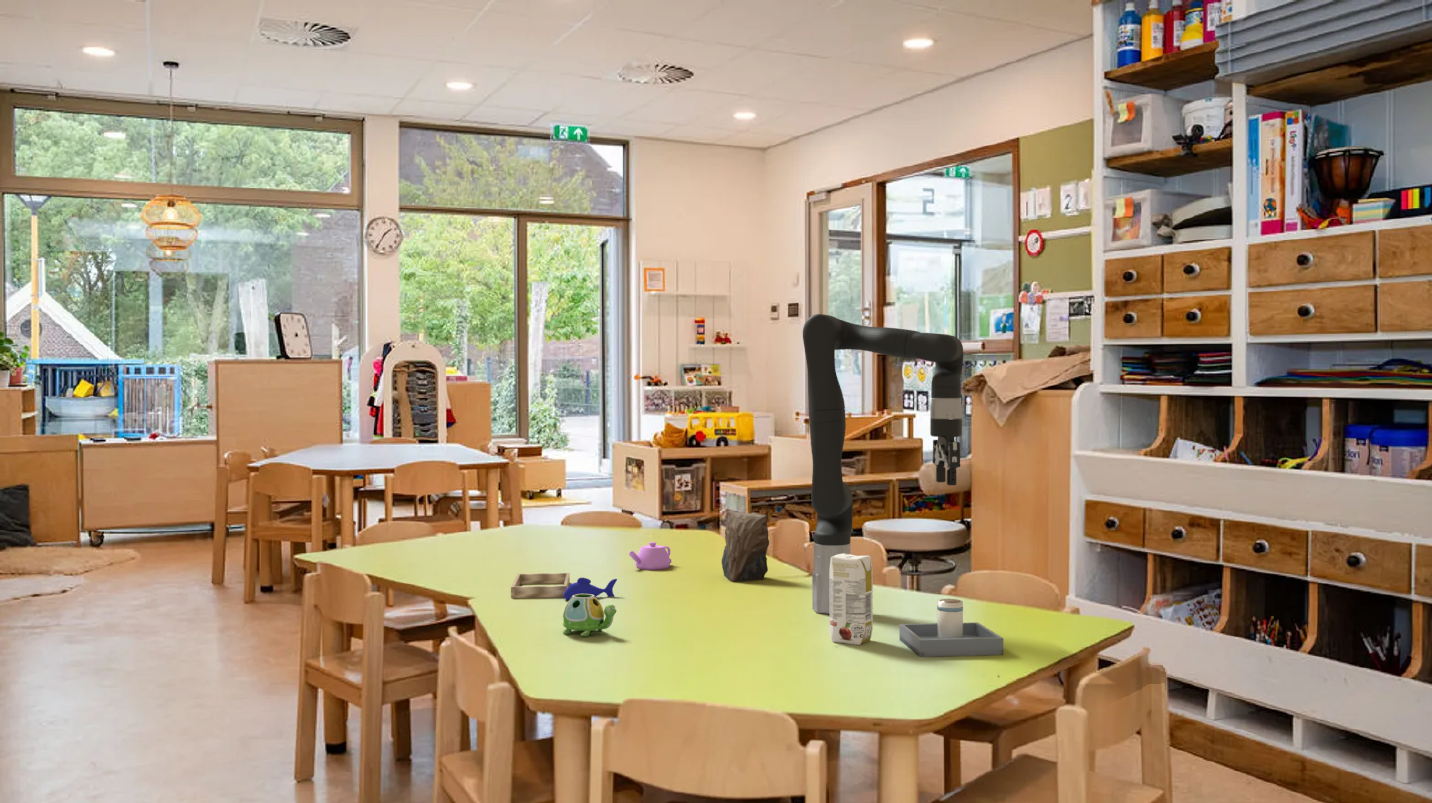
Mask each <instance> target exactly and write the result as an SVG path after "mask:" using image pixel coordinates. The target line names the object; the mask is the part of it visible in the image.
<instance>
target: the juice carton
mask: <svg viewBox="0 0 1432 803" xmlns="http://www.w3.org/2000/svg"><path fill="white" fill-rule="evenodd" d="M873 572H874V570H873V564H872V557H871V555H855V554H852V553H850V554H844V553H843V554H838V555H835V556H832V557H831V561H830V614H829V634H830V640H831V642H832V643H840V644H847V645H855V646H860V645H862V644H866V643H867V642H869V641H871V638H872V634H873V629H874V628H873V626H874V624H873V623H874V622H873V618H874V617H873V614H874V613H873V609H874V608H873V607H874V605H873V604H874V603H873V598H874V596H873V592H874V591H873V590H874V586H873V584H874V583H873Z"/></svg>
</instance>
